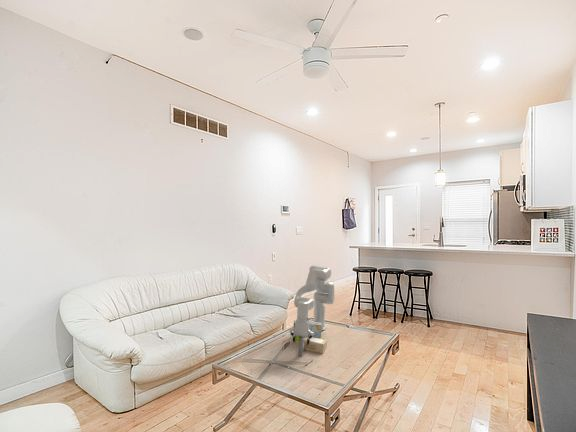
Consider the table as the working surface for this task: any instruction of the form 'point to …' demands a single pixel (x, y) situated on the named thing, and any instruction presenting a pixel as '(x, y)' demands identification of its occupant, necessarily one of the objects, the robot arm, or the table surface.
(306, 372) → the table surface
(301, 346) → the flap
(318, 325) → the snack box
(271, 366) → the table surface
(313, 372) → the table surface
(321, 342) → the carton
